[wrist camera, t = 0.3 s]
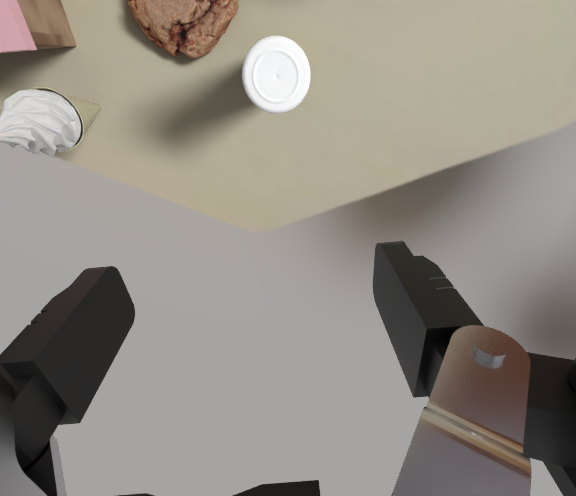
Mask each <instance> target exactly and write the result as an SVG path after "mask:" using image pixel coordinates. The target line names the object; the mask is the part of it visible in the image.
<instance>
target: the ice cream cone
mask: <svg viewBox="0 0 576 496" xmlns="http://www.w3.org/2000/svg"><path fill="white" fill-rule="evenodd" d="M100 110H101V108H100V106H98V105H95V104H92V103H89V102H86V101H83V100H80V99H77V98H74V97H71V96H68V95H65V94H62V93H60V92H58V91H56V90H53V89H50V88H46V87H34V88H31V89H28V90H20V91H18V92H17V93H15V94H13V95H12V96H10V97H9V98H7V99H6V100H4V103H3V104H2V110H1V115H0V142H3V143H7V144H9V145H11V146H12V147H15V146H16V145H20V146H22V147H23V148H25V149H26V150H28V151H30V152H32V153H34V154H39V150H41V151H43V152H44V153H46V154H47V155H49V156H53V155H54V154H55V151H56V150H57V151H59V152H63V151H68V150H71V149H74V148H75V147H77V146H78V145H79V144H80V143H81V141H82V139H83V136H84V134H85V132H86V131H87V129H88V128H89V126H90V125H91V123H92V122H93V120H94V119H95V117H96V116H97V114H98V113H99V111H100Z"/></svg>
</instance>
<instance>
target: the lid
mask: <svg viewBox="0 0 576 496" xmlns="http://www.w3.org/2000/svg"><path fill="white" fill-rule="evenodd" d="M32 50H37V48H36V46H35V43H34V41H33V38H32V36H31V34H30V31H29V29H28V26H27V24H26V21H25V19H24V16H23V14H22V11H21V9H20V6H19V4H18V1H17V0H0V53H9V52H21V51H32Z"/></svg>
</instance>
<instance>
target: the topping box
mask: <svg viewBox="0 0 576 496" xmlns="http://www.w3.org/2000/svg"><path fill="white" fill-rule="evenodd" d="M17 1H18V4H19V6H20V9H21V11H22V14H23V16H24V19H25V21H26V24H27V26H28V29H29V31H30V34H31V36H32V38H33V41H34V43H35V46H36V48H37V50H40V49H51V48H63V47H74V46H76V43H75V41H74V38H73V35H72V32H71V29H70V26H69V23H68V21H67V18H66V15H65V12H64V9H63V6H62V3H61V1H60V0H17Z"/></svg>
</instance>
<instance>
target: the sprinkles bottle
mask: <svg viewBox="0 0 576 496" xmlns="http://www.w3.org/2000/svg"><path fill="white" fill-rule="evenodd" d="M242 80H243V85H244V88H245V91H246V93H247V95H248V97H249V98H250V100H251V101H252V102H253V103H254V104H255V105H256V106H257V107H259V108H260V109H262V110H264V111H266V112H270V113H284V112H287V111H290V110H292V109H293V108H295V107H296V106H297V105H298V104H299V103H300V102H301V101H302V100H303V98H304V97H305V95H306V93H307V91H308V88H309V84H310V67H309V62H308V59H307V57H306V55H305V53H304V52H303V50H302V49H301V48H300V47H299V46H298V45H297V44H296V43H295V42H294V41H292V40H290V39H288V38H286V37H283V36H269V37H265V38H263V39H261V40H259V41H258V42H256V43H255V44H254V45H253V46H252V47H251V48H250V50H249V51H248V53H247V55H246V57H245V60H244V63H243V68H242Z"/></svg>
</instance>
